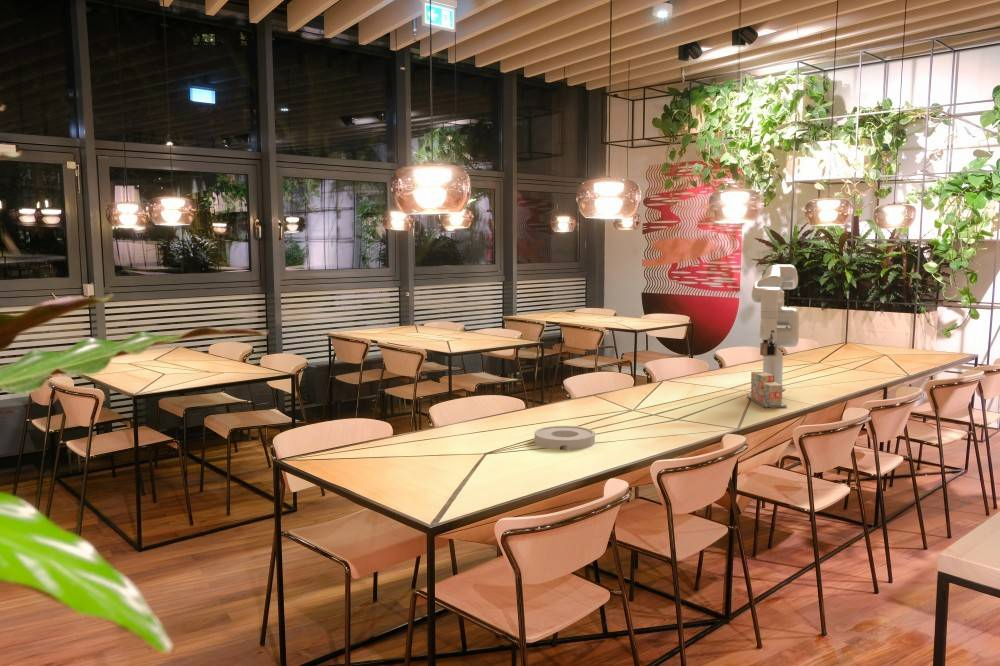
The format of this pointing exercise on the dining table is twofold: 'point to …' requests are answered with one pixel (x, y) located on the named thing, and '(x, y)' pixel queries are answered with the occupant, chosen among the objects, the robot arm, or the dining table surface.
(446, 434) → the dining table surface
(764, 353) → the walnut cube
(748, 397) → the blueprint board
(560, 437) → the ashtray
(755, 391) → the stack of blocks
